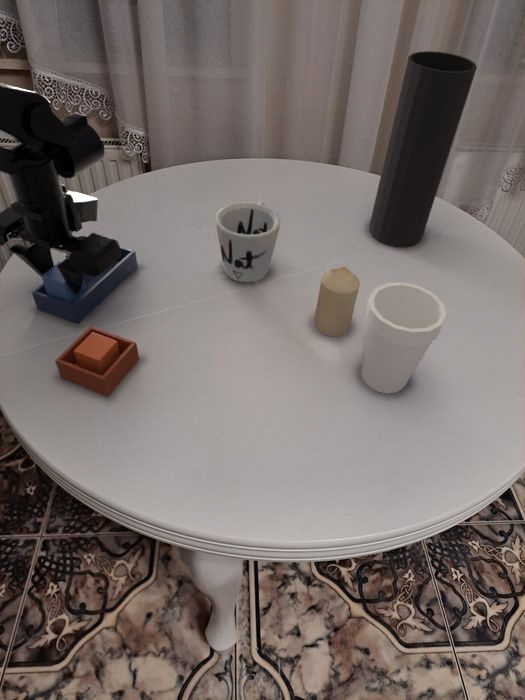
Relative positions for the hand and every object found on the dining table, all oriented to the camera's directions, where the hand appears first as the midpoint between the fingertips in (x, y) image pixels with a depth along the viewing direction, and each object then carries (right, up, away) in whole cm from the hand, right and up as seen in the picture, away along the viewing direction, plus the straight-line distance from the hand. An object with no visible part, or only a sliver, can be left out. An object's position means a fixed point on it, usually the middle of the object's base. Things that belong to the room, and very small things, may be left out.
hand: (65, 288), depth 76 cm
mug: (+27, +6, +13) cm, 31 cm away
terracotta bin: (+7, -12, -6) cm, 15 cm away
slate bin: (+2, +1, +6) cm, 6 cm away
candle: (+40, -5, +3) cm, 41 cm away
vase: (+55, +13, +22) cm, 61 cm away
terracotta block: (+7, -11, -7) cm, 15 cm away
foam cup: (+47, -13, -4) cm, 49 cm away
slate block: (0, -1, +1) cm, 1 cm away
